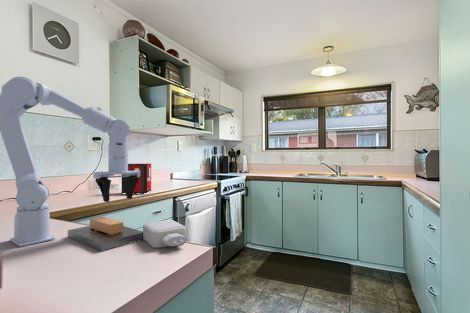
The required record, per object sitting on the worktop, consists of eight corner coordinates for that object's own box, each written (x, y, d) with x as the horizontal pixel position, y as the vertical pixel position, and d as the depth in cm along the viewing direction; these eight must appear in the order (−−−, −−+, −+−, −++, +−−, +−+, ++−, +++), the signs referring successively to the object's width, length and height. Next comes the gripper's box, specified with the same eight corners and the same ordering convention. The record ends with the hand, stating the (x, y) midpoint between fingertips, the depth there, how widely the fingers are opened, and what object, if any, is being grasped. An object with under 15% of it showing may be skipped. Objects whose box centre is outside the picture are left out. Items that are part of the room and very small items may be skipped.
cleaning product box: (151, 192, 177) (151, 163, 177) (146, 194, 168) (146, 163, 168) (127, 192, 177) (127, 163, 177) (121, 194, 168) (121, 163, 168)
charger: (160, 257, 59) (142, 240, 72) (196, 249, 64) (174, 235, 77) (160, 236, 59) (142, 223, 72) (196, 230, 65) (174, 219, 77)
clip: (90, 235, 75) (90, 218, 75) (102, 233, 78) (102, 216, 78) (110, 243, 68) (110, 224, 68) (123, 240, 71) (123, 222, 71)
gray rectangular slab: (67, 237, 74) (67, 230, 74) (108, 228, 84) (108, 221, 84) (101, 251, 62) (101, 243, 62) (144, 239, 72) (144, 232, 72)
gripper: (101, 157, 74) (101, 204, 74) (145, 157, 86) (145, 198, 86) (90, 157, 79) (90, 202, 79) (133, 157, 90) (133, 196, 90)
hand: (118, 200), depth 82 cm, fingers open, 7 cm apart
